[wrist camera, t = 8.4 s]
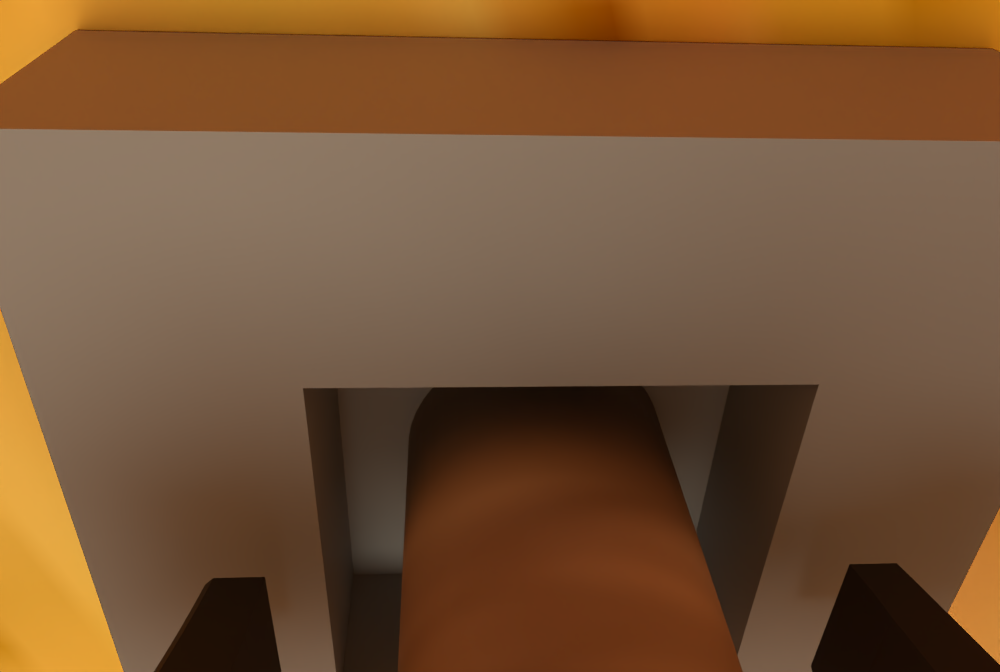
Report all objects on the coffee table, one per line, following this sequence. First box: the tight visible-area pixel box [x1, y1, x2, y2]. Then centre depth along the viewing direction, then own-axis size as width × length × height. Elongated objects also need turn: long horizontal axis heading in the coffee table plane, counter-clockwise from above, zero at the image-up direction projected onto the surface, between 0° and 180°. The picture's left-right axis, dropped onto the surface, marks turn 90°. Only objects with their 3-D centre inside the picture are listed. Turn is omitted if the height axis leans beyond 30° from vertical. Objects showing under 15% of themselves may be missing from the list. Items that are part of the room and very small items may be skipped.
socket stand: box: [0, 30, 1000, 672], centre depth 13 cm, size 12×12×4 cm
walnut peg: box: [398, 386, 743, 672], centre depth 11 cm, size 4×4×6 cm
